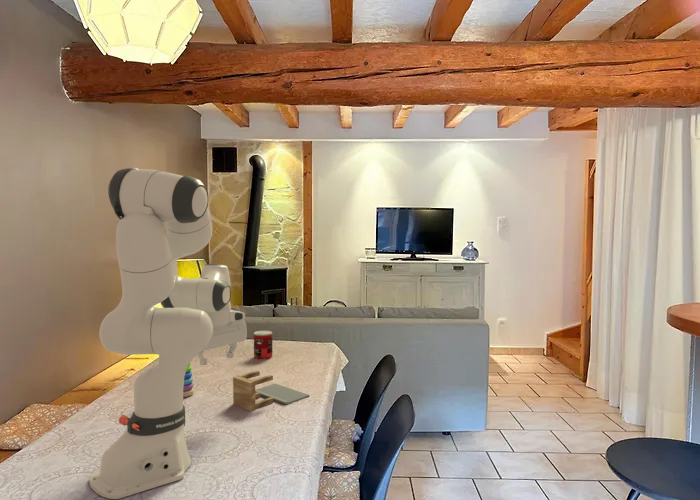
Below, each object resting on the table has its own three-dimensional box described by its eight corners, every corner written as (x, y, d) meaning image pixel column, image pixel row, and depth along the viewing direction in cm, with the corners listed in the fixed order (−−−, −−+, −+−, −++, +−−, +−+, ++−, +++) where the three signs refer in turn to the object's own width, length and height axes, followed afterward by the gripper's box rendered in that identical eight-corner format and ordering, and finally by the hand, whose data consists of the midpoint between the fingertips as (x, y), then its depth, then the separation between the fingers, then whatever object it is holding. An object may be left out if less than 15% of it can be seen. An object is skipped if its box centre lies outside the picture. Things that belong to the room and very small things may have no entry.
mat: (285, 405, 163) (285, 402, 162) (250, 392, 174) (250, 389, 174) (309, 396, 171) (309, 393, 171) (275, 384, 183) (275, 381, 183)
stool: (250, 410, 158) (250, 382, 157) (233, 403, 164) (233, 376, 163) (273, 402, 165) (273, 375, 164) (256, 396, 171) (256, 370, 170)
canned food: (252, 356, 221) (251, 331, 220) (269, 354, 224) (269, 329, 223) (256, 360, 214) (256, 335, 213) (274, 358, 217) (274, 333, 216)
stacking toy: (186, 399, 168) (185, 344, 167) (165, 397, 169) (164, 342, 168) (198, 391, 175) (197, 338, 174) (177, 389, 177) (176, 337, 176)
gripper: (190, 323, 142) (192, 371, 143) (249, 312, 158) (250, 355, 159) (179, 320, 146) (180, 366, 148) (237, 310, 162) (238, 352, 163)
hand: (217, 361), depth 153 cm, fingers open, 8 cm apart
